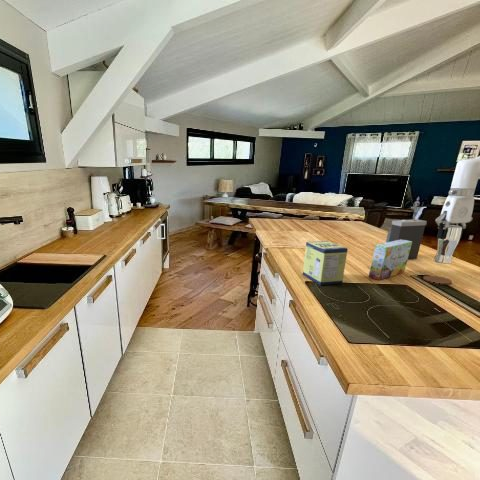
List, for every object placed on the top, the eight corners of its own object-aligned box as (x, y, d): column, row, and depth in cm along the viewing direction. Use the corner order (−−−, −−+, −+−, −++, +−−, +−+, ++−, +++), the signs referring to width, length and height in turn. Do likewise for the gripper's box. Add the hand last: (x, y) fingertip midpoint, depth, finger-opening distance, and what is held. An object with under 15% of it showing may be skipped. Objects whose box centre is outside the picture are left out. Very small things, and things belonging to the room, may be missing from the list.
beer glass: (428, 259, 136) (437, 224, 130) (447, 259, 134) (456, 224, 129) (437, 263, 129) (446, 227, 124) (456, 264, 128) (467, 227, 123)
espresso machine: (417, 259, 167) (427, 220, 159) (393, 260, 165) (402, 221, 157) (403, 254, 175) (412, 217, 168) (380, 256, 173) (388, 218, 166)
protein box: (322, 273, 147) (326, 240, 141) (342, 284, 132) (348, 248, 127) (301, 274, 145) (305, 241, 140) (320, 285, 131) (325, 249, 125)
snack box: (380, 281, 135) (387, 246, 130) (367, 277, 140) (374, 244, 134) (405, 272, 146) (413, 240, 140) (393, 269, 150) (399, 238, 145)
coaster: (436, 276, 140) (437, 274, 140) (457, 283, 131) (458, 282, 131) (417, 277, 139) (417, 276, 138) (437, 285, 129) (437, 283, 129)
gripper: (451, 194, 117) (438, 241, 124) (490, 193, 120) (475, 239, 126) (433, 193, 124) (422, 237, 130) (470, 192, 127) (458, 235, 133)
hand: (448, 238), depth 128 cm, fingers closed on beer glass, 7 cm apart
